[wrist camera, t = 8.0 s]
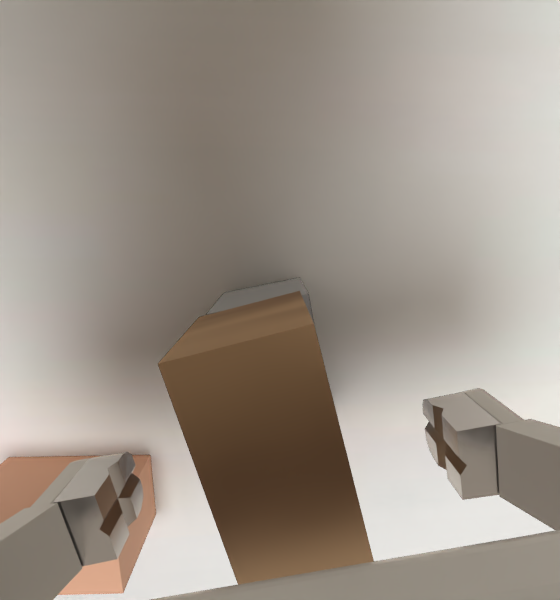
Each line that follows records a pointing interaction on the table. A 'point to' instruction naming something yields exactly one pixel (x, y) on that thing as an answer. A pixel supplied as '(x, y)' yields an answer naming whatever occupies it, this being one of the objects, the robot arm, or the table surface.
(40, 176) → the table surface
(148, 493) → the terracotta brick
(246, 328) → the walnut brick
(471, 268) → the table surface
